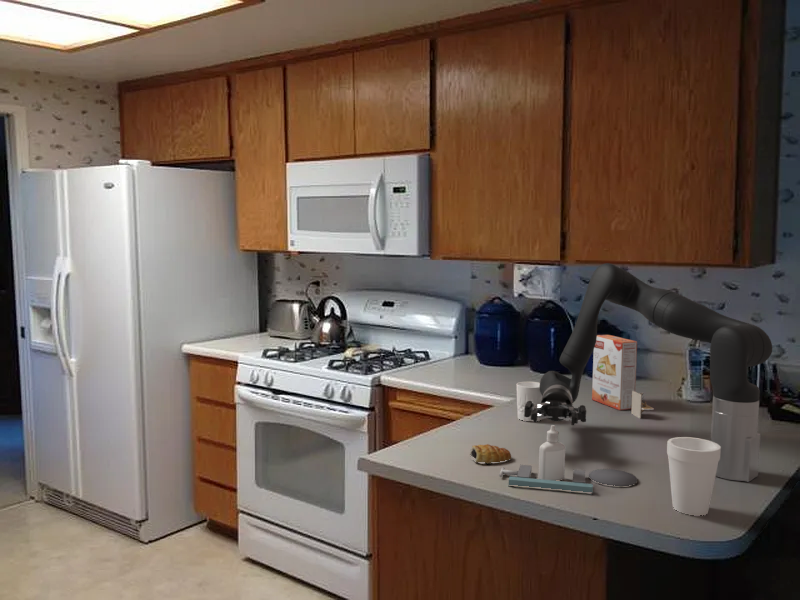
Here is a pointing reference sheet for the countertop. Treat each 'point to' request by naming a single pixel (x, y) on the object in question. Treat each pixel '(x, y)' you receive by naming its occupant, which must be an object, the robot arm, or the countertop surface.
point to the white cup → (527, 397)
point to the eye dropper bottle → (552, 457)
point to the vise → (525, 480)
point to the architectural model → (638, 404)
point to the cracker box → (614, 371)
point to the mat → (613, 477)
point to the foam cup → (692, 473)
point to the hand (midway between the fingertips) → (554, 419)
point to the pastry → (489, 453)
